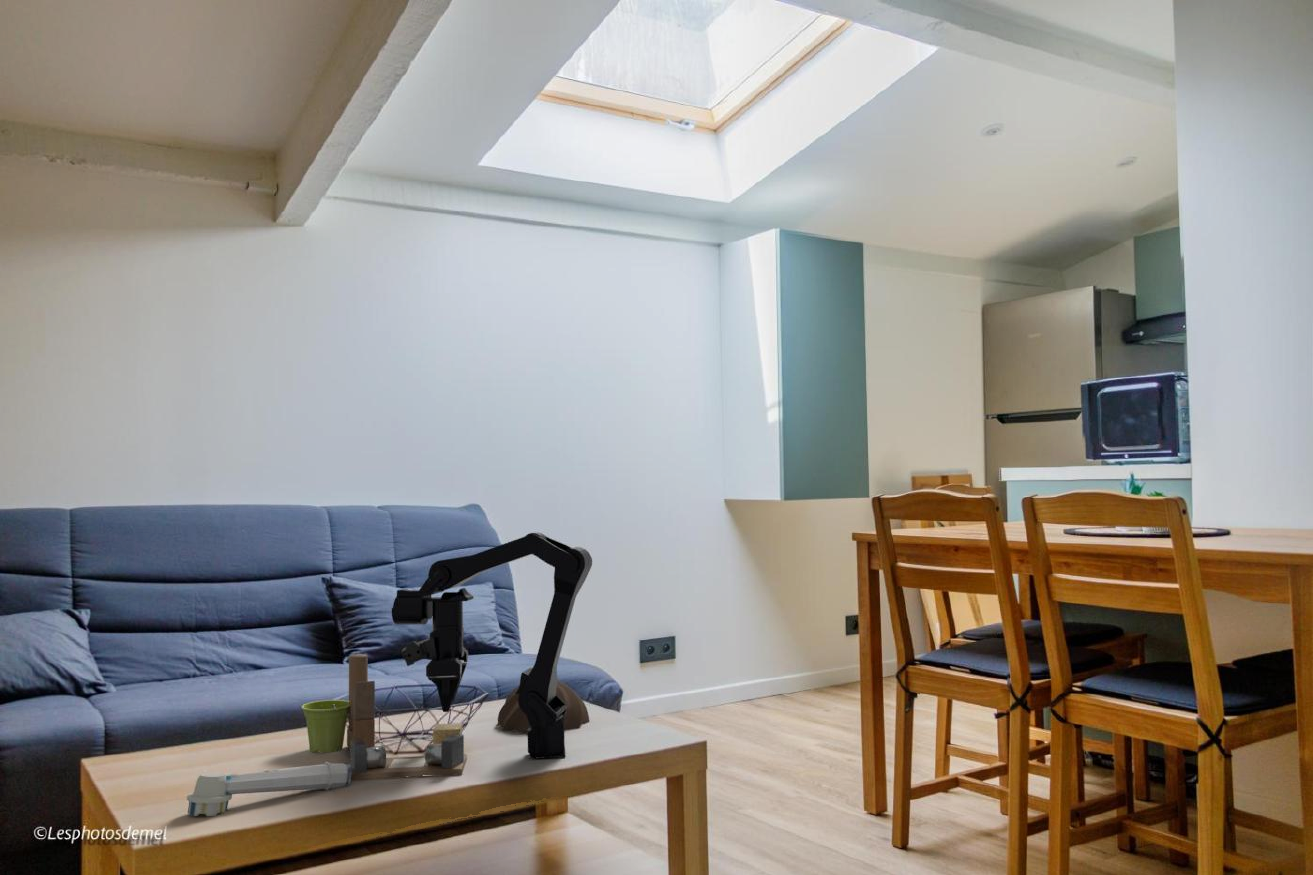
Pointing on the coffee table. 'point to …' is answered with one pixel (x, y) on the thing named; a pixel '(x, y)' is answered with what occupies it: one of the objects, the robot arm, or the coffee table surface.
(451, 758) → the shaft
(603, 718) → the coffee table surface
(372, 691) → the wooden block
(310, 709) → the plant pot
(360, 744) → the shaft
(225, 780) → the toothbrush head
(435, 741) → the cream cube
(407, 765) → the board
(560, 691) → the decorative dome
